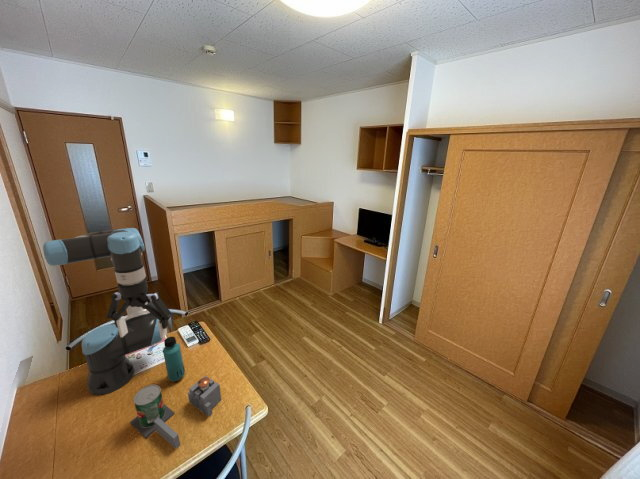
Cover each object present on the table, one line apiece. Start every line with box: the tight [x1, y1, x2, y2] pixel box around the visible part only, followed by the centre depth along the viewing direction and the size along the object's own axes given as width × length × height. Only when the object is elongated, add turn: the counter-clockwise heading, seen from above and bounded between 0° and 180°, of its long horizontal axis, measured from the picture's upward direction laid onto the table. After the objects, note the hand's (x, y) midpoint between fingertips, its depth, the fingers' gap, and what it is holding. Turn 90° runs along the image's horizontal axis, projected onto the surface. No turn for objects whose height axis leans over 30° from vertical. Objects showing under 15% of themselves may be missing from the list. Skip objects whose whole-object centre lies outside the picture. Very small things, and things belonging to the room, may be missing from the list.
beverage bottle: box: [162, 336, 185, 382], centre depth 106 cm, size 6×7×20 cm
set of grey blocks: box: [154, 375, 222, 450], centre depth 93 cm, size 11×20×8 cm, turn 151°
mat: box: [129, 403, 176, 439], centre depth 92 cm, size 10×10×1 cm
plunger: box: [197, 376, 211, 394], centre depth 97 cm, size 4×4×7 cm
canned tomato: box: [133, 384, 165, 428], centre depth 91 cm, size 8×8×11 cm
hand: (144, 335), depth 89 cm, fingers open, 13 cm apart
